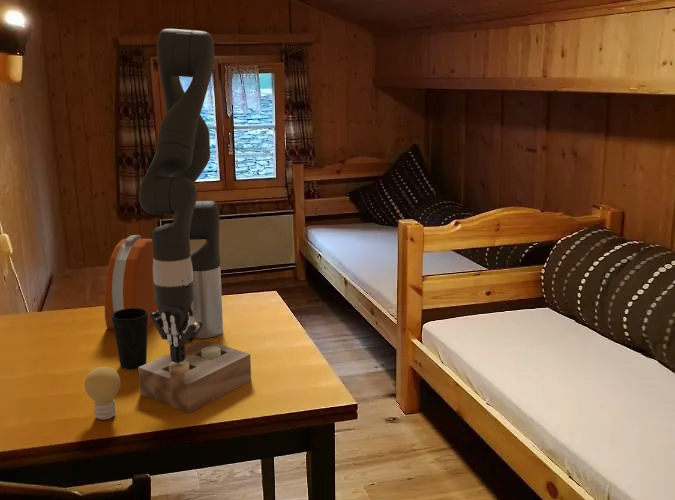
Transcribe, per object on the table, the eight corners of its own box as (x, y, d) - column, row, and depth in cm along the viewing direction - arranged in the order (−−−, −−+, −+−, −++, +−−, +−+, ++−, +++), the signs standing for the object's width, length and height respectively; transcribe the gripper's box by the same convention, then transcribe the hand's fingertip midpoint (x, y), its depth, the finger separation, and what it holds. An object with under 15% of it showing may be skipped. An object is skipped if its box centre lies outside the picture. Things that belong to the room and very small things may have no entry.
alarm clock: (135, 305, 197) (129, 225, 191) (169, 306, 195) (164, 227, 190) (99, 334, 176) (91, 246, 170) (136, 336, 174) (130, 247, 168)
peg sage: (198, 380, 150) (197, 350, 149) (212, 373, 154) (210, 344, 152) (212, 385, 148) (210, 355, 146) (225, 378, 151) (224, 349, 150)
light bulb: (92, 409, 138) (88, 361, 135) (126, 408, 138) (122, 360, 136) (84, 425, 132) (79, 376, 129) (119, 424, 132) (115, 375, 130)
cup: (157, 360, 161) (154, 310, 158) (138, 373, 154) (134, 321, 151) (129, 355, 163) (125, 306, 160) (108, 368, 156) (104, 317, 153)
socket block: (140, 394, 144) (138, 367, 142) (204, 364, 158) (202, 339, 157) (188, 413, 136) (186, 384, 135) (251, 380, 151) (250, 354, 149)
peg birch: (166, 396, 143) (164, 365, 141) (181, 389, 146) (179, 358, 145) (180, 401, 141) (178, 370, 139) (194, 394, 144) (193, 363, 142)
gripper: (135, 277, 138) (141, 359, 143) (182, 290, 131) (187, 376, 135) (164, 268, 144) (169, 347, 149) (211, 280, 137) (215, 363, 141)
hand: (178, 361), depth 142 cm, fingers closed
